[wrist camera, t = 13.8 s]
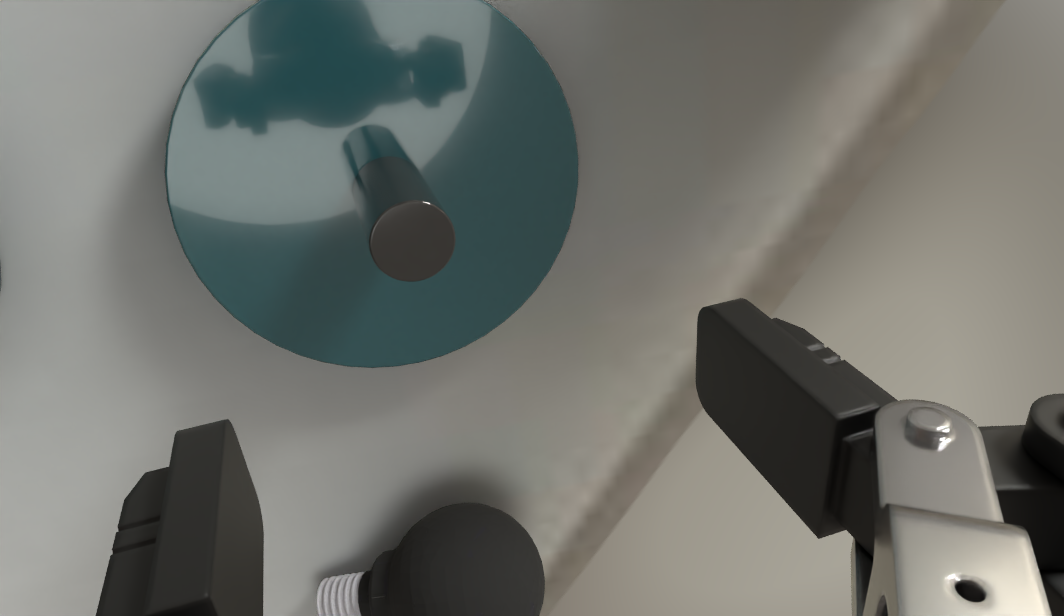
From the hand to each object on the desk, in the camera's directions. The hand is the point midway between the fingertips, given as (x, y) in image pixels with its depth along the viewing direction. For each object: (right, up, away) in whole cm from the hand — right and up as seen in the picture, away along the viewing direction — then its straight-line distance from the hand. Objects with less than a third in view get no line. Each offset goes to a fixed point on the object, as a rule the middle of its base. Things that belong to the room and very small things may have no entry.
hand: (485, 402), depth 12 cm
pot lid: (-4, +6, +12) cm, 14 cm away
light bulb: (-4, -9, +21) cm, 23 cm away
